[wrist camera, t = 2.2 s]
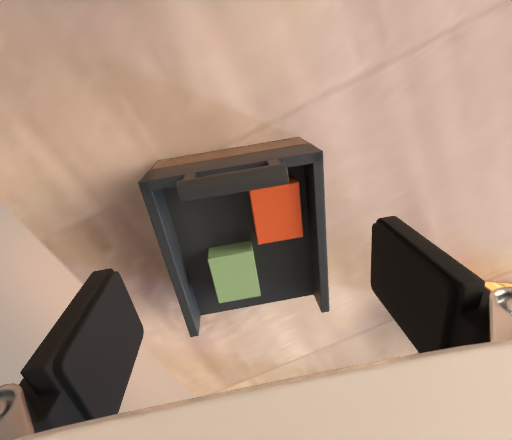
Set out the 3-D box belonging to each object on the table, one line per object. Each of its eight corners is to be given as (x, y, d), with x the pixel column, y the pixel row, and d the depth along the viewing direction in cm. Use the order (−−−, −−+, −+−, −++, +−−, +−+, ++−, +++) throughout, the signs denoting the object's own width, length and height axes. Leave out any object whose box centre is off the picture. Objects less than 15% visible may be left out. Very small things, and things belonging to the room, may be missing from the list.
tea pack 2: (247, 183, 24) (248, 190, 22) (293, 175, 24) (299, 182, 22) (255, 234, 26) (257, 245, 24) (298, 227, 26) (303, 237, 24)
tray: (147, 166, 23) (121, 193, 17) (310, 139, 24) (339, 156, 18) (193, 312, 30) (186, 368, 24) (319, 289, 30) (342, 338, 24)
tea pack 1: (208, 247, 26) (207, 259, 24) (251, 240, 26) (253, 251, 25) (219, 290, 28) (218, 303, 27) (258, 282, 28) (260, 296, 27)
